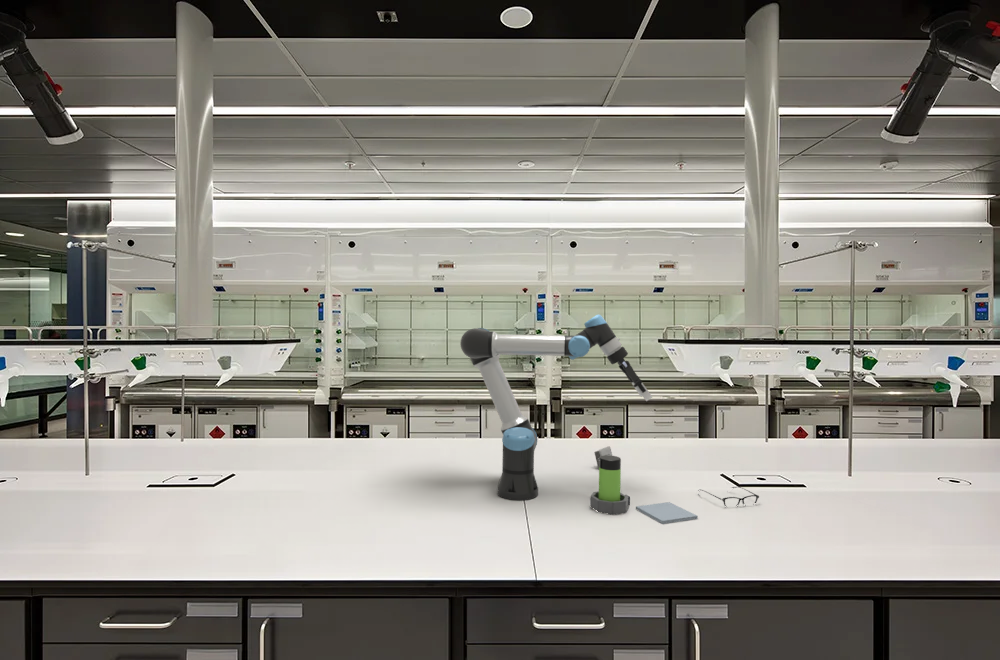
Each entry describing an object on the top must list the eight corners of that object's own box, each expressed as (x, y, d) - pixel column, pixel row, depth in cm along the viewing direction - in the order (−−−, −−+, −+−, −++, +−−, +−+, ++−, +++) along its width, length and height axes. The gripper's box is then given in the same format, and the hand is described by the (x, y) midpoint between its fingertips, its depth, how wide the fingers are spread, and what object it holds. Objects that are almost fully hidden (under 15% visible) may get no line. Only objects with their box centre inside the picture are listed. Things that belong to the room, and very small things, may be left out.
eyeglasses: (722, 509, 180) (722, 498, 180) (693, 495, 195) (693, 484, 195) (761, 506, 184) (761, 495, 184) (730, 492, 200) (730, 481, 200)
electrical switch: (605, 471, 224) (603, 450, 225) (594, 470, 227) (593, 449, 228) (615, 467, 231) (613, 446, 232) (604, 466, 235) (603, 445, 235)
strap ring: (603, 516, 171) (603, 503, 171) (585, 504, 182) (585, 492, 182) (638, 511, 176) (638, 499, 176) (618, 500, 187) (618, 489, 187)
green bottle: (605, 502, 184) (605, 454, 184) (623, 507, 179) (624, 457, 179) (594, 508, 178) (595, 457, 178) (613, 513, 174) (614, 461, 174)
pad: (662, 524, 165) (662, 520, 165) (635, 509, 178) (635, 506, 178) (697, 518, 170) (697, 515, 170) (669, 504, 183) (669, 502, 183)
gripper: (626, 346, 188) (660, 395, 186) (619, 344, 213) (649, 388, 211) (608, 357, 189) (642, 406, 187) (603, 355, 213) (633, 398, 212)
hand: (646, 397), depth 199 cm, fingers open, 13 cm apart
